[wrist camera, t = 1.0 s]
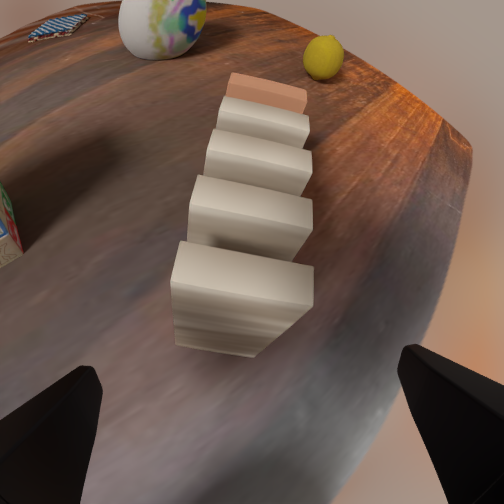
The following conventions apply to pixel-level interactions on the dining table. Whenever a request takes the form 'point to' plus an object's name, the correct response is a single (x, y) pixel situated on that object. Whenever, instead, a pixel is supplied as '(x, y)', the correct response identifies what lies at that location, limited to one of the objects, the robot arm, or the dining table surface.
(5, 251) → the stack of blocks
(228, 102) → the domino
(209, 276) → the domino
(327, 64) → the lemon
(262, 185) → the domino
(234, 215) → the domino
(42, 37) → the woven mat
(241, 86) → the domino
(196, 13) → the decorative egg
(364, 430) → the dining table surface
